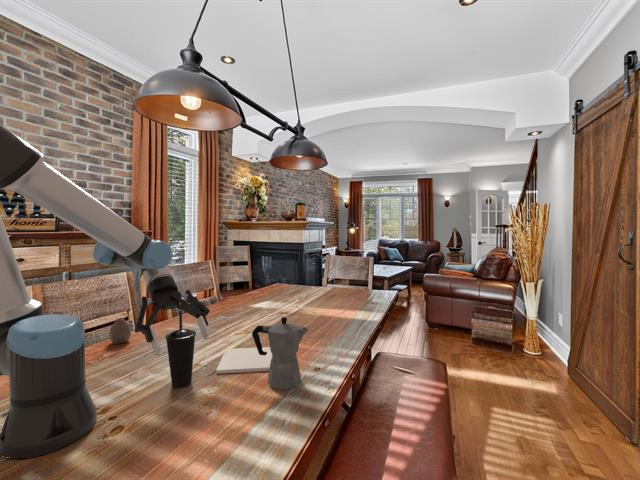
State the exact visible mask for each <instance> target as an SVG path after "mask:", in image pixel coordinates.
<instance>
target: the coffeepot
mask: <svg viewBox="0 0 640 480" xmlns="http://www.w3.org/2000/svg"><path fill="white" fill-rule="evenodd" d="M280 320H281V323H274V324H272V325H256V326H255V328H254V329H253V330H252V332H251V336H252V339H253V342H254V344H255V348H257V350H258V353H259V355H266V354H267V352H264V351H263V350H262V347H263V345H262V343H261V339H260V338H261V337H260V335H259V333H262V334H267V337H268V341H269V342H268V343H269V347H270V350H271V353H272V359H271V363H270V369H269V371H268V377H267V383H268V385H269V387H271V389H275V390H279V391H285V390H292V389H294V388H297V386H299V384H301V383H300V382H302V377H301V372H300V365H299V360H298V357H297V353H298V352H299V347H300V342H301V340H302V339H303V337H304V336H305V334H306V333H307V332H309V329H308V327H305V326H300V325H299V324H297V323H291V322H287V320H288V317H286V316H283V317H280Z"/></svg>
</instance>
